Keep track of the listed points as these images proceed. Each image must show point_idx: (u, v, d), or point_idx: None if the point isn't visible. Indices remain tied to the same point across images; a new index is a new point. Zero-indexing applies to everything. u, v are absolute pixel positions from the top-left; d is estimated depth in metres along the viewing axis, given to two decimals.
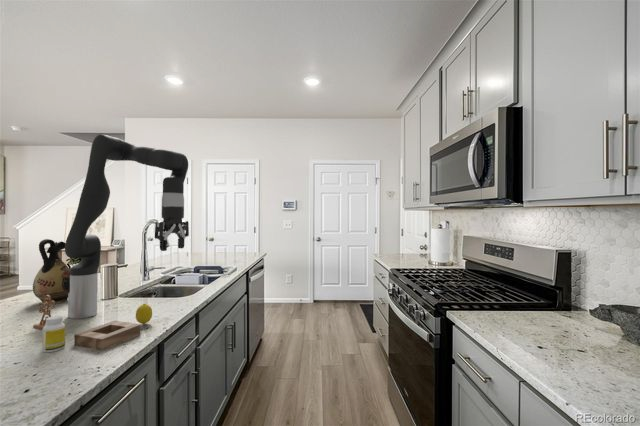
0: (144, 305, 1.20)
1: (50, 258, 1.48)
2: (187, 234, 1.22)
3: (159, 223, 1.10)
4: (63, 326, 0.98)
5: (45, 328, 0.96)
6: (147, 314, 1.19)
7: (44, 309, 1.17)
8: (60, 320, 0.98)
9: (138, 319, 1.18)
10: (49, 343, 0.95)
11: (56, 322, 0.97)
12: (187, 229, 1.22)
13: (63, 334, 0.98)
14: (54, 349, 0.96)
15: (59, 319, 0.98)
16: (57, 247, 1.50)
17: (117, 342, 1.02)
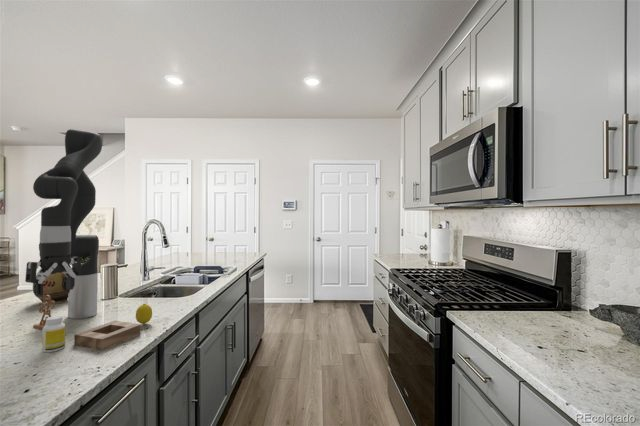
0: (144, 305, 1.20)
1: None
2: (79, 272, 1.04)
3: (30, 264, 0.91)
4: (63, 326, 0.98)
5: (45, 328, 0.96)
6: (147, 314, 1.19)
7: (44, 309, 1.17)
8: (60, 320, 0.98)
9: (138, 319, 1.18)
10: (49, 343, 0.95)
11: (56, 322, 0.97)
12: (79, 266, 1.04)
13: (63, 334, 0.98)
14: (54, 349, 0.96)
15: (59, 319, 0.98)
16: None
17: (117, 342, 1.02)
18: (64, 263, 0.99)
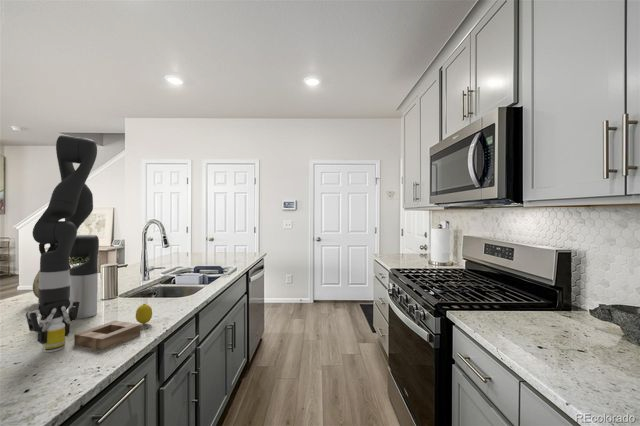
0: (144, 305, 1.20)
1: None
2: (74, 318, 1.02)
3: (30, 315, 0.91)
4: (63, 326, 0.98)
5: None
6: (147, 314, 1.19)
7: None
8: (60, 320, 0.98)
9: (138, 319, 1.18)
10: (49, 343, 0.95)
11: (56, 322, 0.97)
12: (75, 311, 1.03)
13: (63, 334, 0.98)
14: (54, 349, 0.96)
15: (59, 319, 0.98)
16: None
17: (117, 342, 1.02)
18: (63, 307, 0.99)
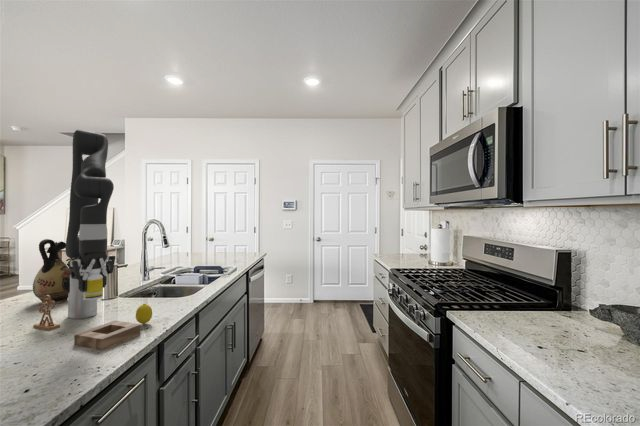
0: (144, 305, 1.20)
1: (50, 258, 1.48)
2: (110, 271, 1.08)
3: (72, 263, 0.97)
4: (101, 277, 1.04)
5: None
6: (147, 314, 1.19)
7: (44, 309, 1.17)
8: (98, 271, 1.03)
9: (138, 319, 1.18)
10: (89, 292, 1.01)
11: (95, 273, 1.02)
12: (112, 265, 1.08)
13: (101, 284, 1.03)
14: (93, 297, 1.01)
15: (98, 270, 1.03)
16: (57, 247, 1.50)
17: (117, 342, 1.02)
18: (101, 259, 1.04)
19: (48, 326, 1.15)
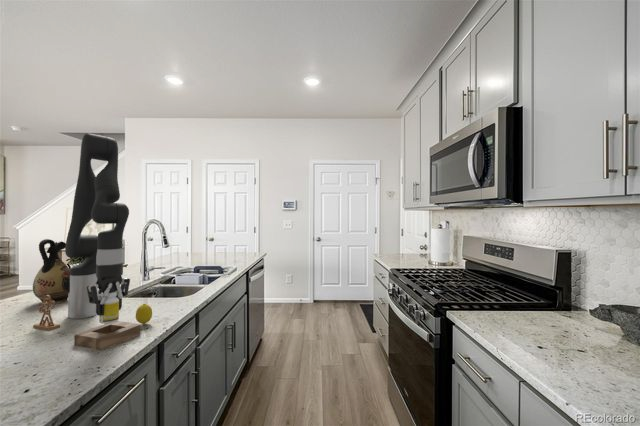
0: (144, 305, 1.20)
1: (50, 258, 1.48)
2: (125, 293, 1.10)
3: (90, 288, 0.99)
4: (117, 300, 1.06)
5: None
6: (147, 314, 1.19)
7: (44, 309, 1.17)
8: (115, 294, 1.06)
9: (138, 319, 1.18)
10: (106, 315, 1.03)
11: (112, 296, 1.05)
12: (127, 288, 1.11)
13: (118, 307, 1.06)
14: (110, 321, 1.04)
15: (114, 293, 1.05)
16: (57, 247, 1.50)
17: (117, 342, 1.02)
18: (117, 283, 1.06)
19: (48, 326, 1.15)
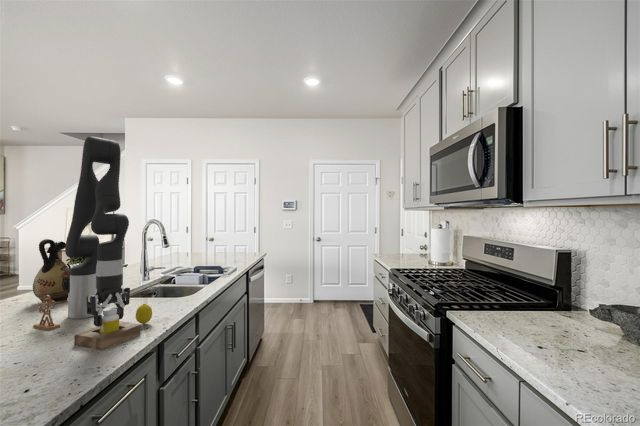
0: (144, 305, 1.20)
1: (50, 258, 1.48)
2: (127, 302, 1.11)
3: (90, 298, 0.99)
4: (118, 317, 1.06)
5: (103, 319, 1.04)
6: (147, 314, 1.19)
7: (44, 309, 1.17)
8: (115, 311, 1.06)
9: (138, 319, 1.18)
10: (107, 333, 1.03)
11: (112, 313, 1.05)
12: (128, 297, 1.11)
13: (118, 324, 1.06)
14: None
15: (114, 310, 1.06)
16: (57, 247, 1.50)
17: (117, 342, 1.02)
18: (117, 294, 1.06)
19: (48, 326, 1.15)
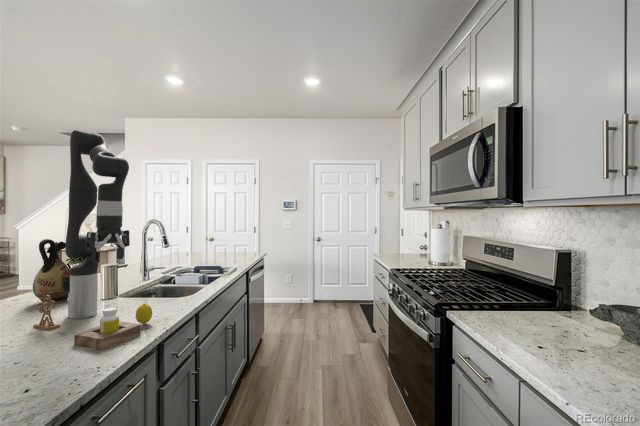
0: (144, 305, 1.20)
1: (50, 258, 1.48)
2: (127, 244, 1.15)
3: (90, 233, 1.03)
4: (118, 317, 1.06)
5: (103, 319, 1.04)
6: (147, 314, 1.19)
7: (44, 309, 1.17)
8: (115, 311, 1.06)
9: (138, 319, 1.18)
10: (107, 333, 1.03)
11: (112, 313, 1.05)
12: (127, 238, 1.15)
13: (118, 324, 1.06)
14: None
15: (114, 310, 1.06)
16: (57, 247, 1.50)
17: (117, 342, 1.02)
18: (116, 235, 1.10)
19: (48, 326, 1.15)
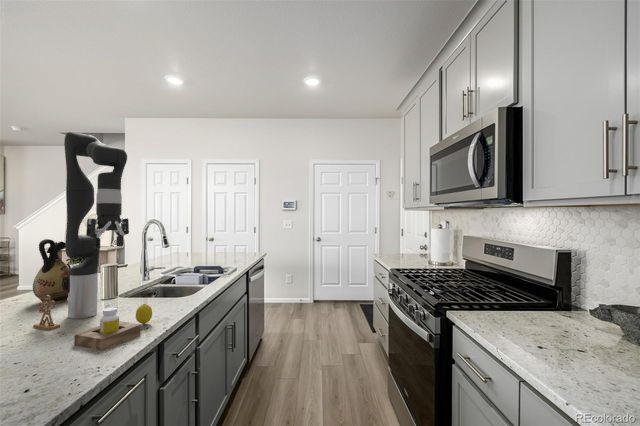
0: (144, 305, 1.20)
1: (50, 258, 1.48)
2: (127, 232, 1.18)
3: (91, 220, 1.06)
4: (118, 317, 1.06)
5: (103, 319, 1.04)
6: (147, 314, 1.19)
7: (44, 309, 1.17)
8: (115, 311, 1.06)
9: (138, 319, 1.18)
10: (107, 333, 1.03)
11: (112, 313, 1.05)
12: (127, 227, 1.18)
13: (118, 324, 1.06)
14: None
15: (114, 310, 1.06)
16: (57, 247, 1.50)
17: (117, 342, 1.02)
18: (116, 222, 1.13)
19: (48, 326, 1.15)
